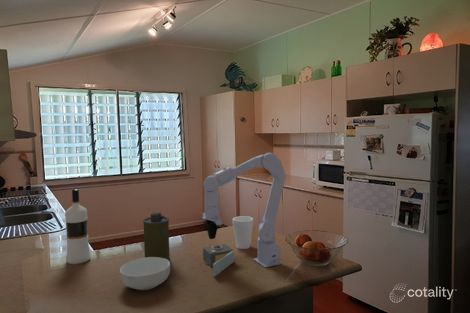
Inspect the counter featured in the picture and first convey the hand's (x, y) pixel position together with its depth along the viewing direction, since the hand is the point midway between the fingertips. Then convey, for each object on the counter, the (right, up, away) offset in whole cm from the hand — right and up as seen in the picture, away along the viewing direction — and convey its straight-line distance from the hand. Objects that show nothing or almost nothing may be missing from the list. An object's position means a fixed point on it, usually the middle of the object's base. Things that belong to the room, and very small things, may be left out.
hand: (212, 238), depth 138 cm
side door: (+5, -9, -8) cm, 13 cm away
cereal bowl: (-22, -12, -20) cm, 32 cm away
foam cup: (+13, -8, +17) cm, 23 cm away
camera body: (+2, -9, +1) cm, 10 cm away
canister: (-23, -10, +2) cm, 25 cm away
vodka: (-56, -10, +3) cm, 57 cm away
